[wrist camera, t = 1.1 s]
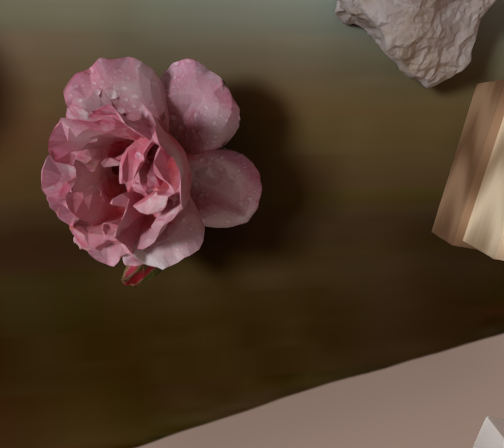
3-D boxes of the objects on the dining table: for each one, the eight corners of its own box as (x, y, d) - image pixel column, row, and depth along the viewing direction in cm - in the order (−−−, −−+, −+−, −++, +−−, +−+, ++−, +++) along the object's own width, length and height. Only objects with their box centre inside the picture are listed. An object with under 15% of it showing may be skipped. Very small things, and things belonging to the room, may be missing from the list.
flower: (215, 14, 26) (149, 18, 18) (286, 208, 32) (261, 281, 23) (51, 90, 32) (-60, 120, 23) (136, 244, 37) (72, 315, 29)
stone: (442, 95, 31) (484, 91, 25) (317, 68, 30) (331, 58, 25) (478, -21, 28) (533, -54, 23) (344, -51, 28) (366, -93, 22)
